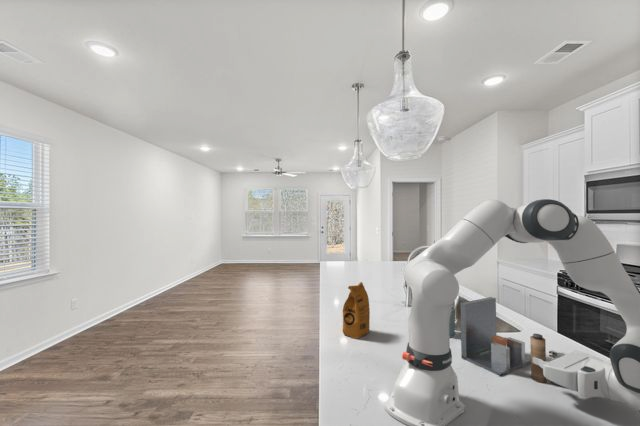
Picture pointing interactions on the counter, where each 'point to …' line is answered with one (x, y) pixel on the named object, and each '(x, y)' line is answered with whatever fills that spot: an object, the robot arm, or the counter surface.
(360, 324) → the coffee package
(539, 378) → the brown bottle
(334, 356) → the counter surface
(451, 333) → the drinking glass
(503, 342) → the breaker toggle
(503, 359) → the grey l-shaped stand
